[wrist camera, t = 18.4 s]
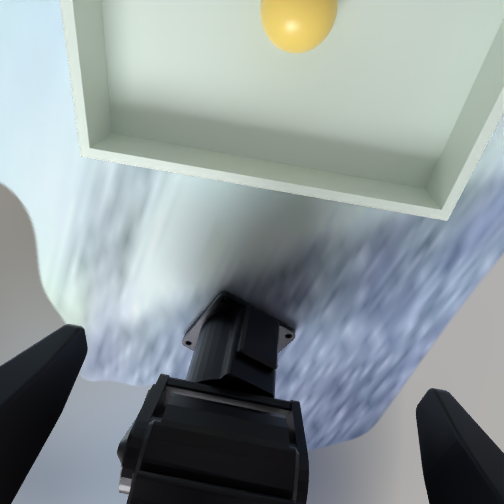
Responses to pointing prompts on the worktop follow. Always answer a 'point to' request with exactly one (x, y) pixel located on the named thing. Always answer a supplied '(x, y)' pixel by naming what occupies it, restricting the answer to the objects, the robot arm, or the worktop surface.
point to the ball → (298, 22)
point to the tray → (293, 96)
